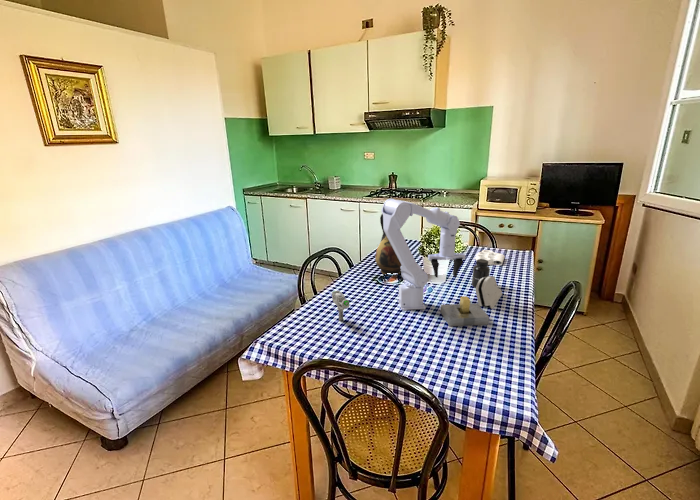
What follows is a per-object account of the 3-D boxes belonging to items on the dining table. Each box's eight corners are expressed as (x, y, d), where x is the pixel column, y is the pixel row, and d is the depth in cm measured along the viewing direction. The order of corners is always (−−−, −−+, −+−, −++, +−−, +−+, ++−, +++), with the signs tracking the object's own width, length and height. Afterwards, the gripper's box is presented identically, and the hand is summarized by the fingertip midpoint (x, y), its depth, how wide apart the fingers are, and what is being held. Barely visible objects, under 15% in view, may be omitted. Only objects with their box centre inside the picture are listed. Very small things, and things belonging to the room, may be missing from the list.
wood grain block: (461, 320, 133) (463, 300, 130) (459, 316, 136) (460, 296, 133) (468, 320, 133) (470, 300, 130) (465, 315, 136) (467, 296, 133)
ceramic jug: (411, 270, 182) (413, 210, 173) (398, 280, 170) (400, 217, 161) (381, 264, 191) (382, 207, 182) (366, 273, 178) (366, 213, 169)
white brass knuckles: (501, 268, 183) (470, 264, 189) (504, 258, 198) (476, 254, 205) (501, 262, 182) (471, 258, 188) (505, 252, 197) (477, 248, 204)
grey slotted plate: (449, 326, 129) (449, 318, 128) (440, 311, 139) (440, 304, 138) (488, 324, 129) (489, 317, 128) (476, 310, 140) (477, 303, 139)
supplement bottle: (471, 288, 160) (473, 262, 156) (472, 282, 166) (474, 257, 162) (487, 290, 157) (490, 264, 154) (488, 284, 163) (491, 259, 160)
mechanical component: (343, 327, 130) (342, 301, 126) (331, 315, 138) (330, 291, 135) (351, 325, 131) (350, 299, 128) (338, 313, 140) (337, 289, 136)
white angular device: (492, 309, 141) (485, 284, 140) (479, 310, 144) (473, 286, 143) (502, 293, 154) (496, 271, 153) (491, 294, 157) (485, 272, 156)
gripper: (431, 247, 140) (430, 280, 144) (469, 246, 141) (466, 279, 145) (427, 242, 147) (425, 274, 151) (462, 241, 148) (460, 272, 152)
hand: (445, 276), depth 149 cm, fingers open, 7 cm apart
